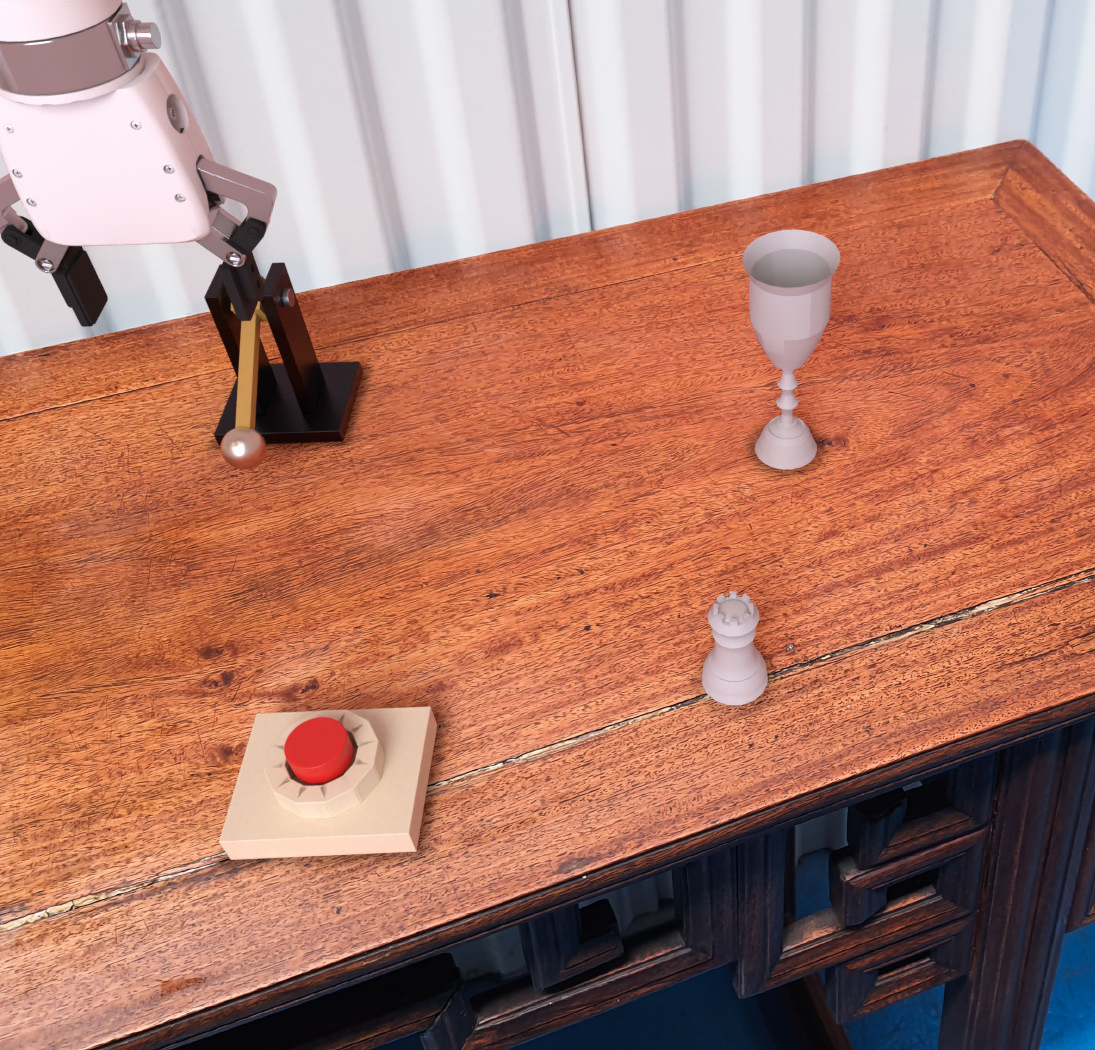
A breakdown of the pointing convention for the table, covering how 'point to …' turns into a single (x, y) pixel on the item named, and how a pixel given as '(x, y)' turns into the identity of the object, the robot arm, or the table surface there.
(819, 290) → the chalice
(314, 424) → the switch bracket
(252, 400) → the switch lever
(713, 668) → the rook chess piece
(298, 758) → the red button
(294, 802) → the control box
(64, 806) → the table surface
